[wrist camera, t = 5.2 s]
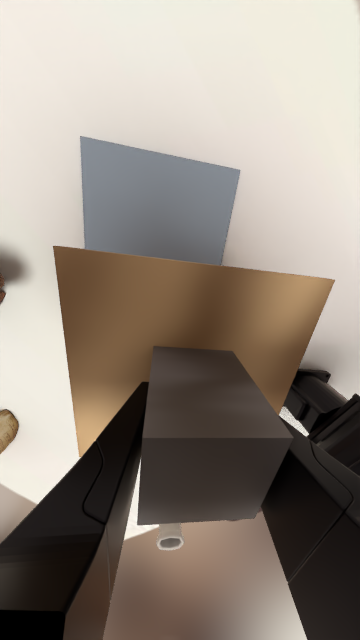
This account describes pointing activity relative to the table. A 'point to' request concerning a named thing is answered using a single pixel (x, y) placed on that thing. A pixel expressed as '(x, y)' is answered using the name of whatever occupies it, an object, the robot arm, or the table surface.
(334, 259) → the table surface
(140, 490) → the wooden lid
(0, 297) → the brown curved piece
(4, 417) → the chocolate bunny
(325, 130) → the table surface
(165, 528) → the flask
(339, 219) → the table surface
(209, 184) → the slate mat
